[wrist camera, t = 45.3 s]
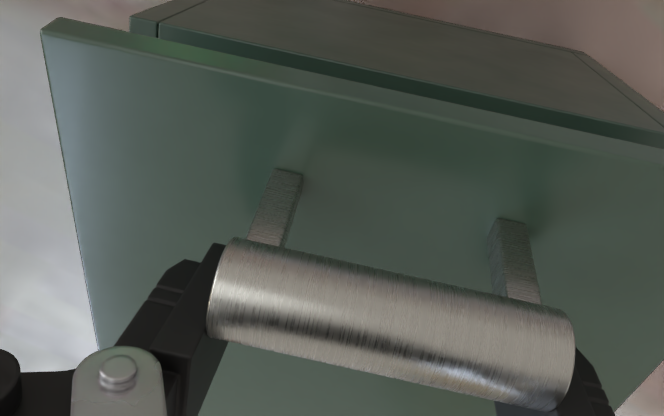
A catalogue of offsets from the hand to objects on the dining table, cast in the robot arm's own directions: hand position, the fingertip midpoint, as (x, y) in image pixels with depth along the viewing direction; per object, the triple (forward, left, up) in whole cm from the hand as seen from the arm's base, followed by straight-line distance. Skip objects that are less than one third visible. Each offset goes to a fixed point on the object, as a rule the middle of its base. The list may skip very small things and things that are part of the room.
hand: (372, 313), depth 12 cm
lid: (+4, 0, -3) cm, 5 cm away
